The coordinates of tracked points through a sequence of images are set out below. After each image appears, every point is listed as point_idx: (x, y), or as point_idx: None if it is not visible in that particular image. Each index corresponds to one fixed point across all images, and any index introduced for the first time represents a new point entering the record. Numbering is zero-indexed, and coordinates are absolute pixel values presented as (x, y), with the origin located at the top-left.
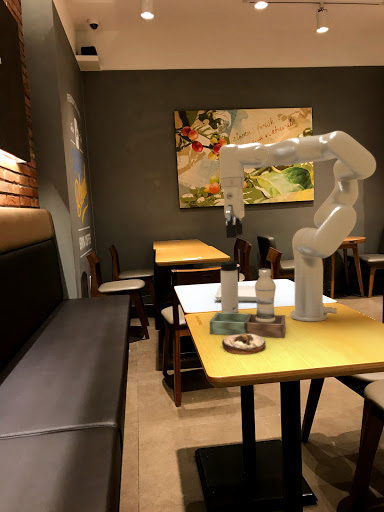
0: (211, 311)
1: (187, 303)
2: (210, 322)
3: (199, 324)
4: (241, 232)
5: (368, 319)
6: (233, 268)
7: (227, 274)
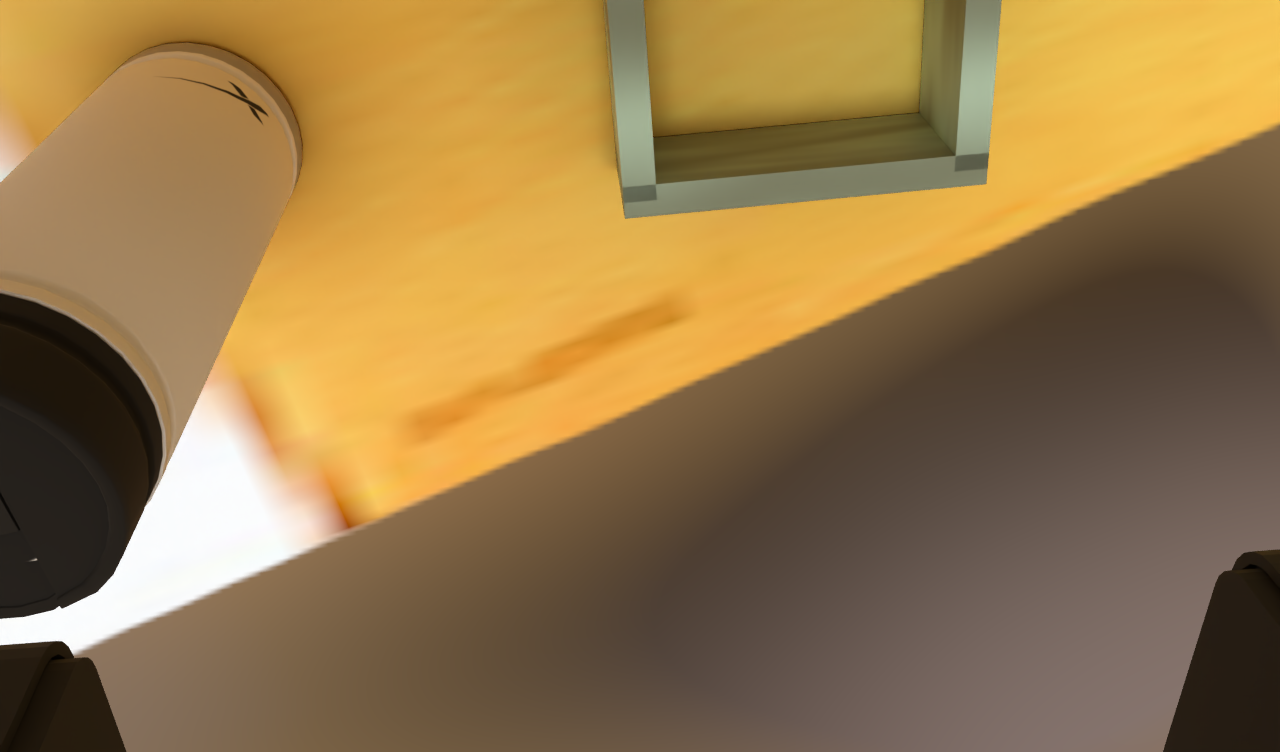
0: None
1: None
2: (986, 171)
3: (676, 319)
4: (66, 715)
5: None
6: (62, 351)
7: (175, 384)
